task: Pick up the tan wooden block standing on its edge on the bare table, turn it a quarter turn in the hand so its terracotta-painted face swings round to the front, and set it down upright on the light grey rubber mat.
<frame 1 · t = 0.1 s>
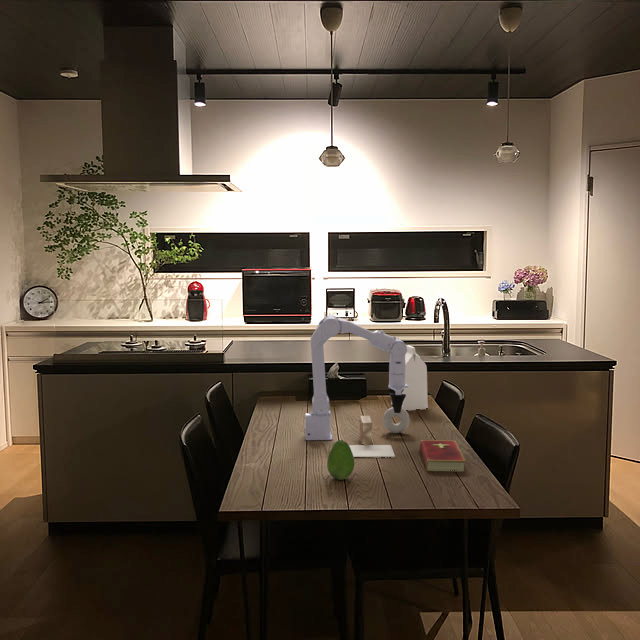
hand: (396, 410, 243), 10 cm above the table, tool pointing down, fingers open, 7 cm apart
fruit: (340, 479, 203), on the table
tan wooden block: (365, 441, 240), on the table
milk: (409, 406, 289), on the table
donut: (395, 433, 250), on the table
mat: (369, 452, 228), on the table
hardcover book: (441, 462, 220), on the table
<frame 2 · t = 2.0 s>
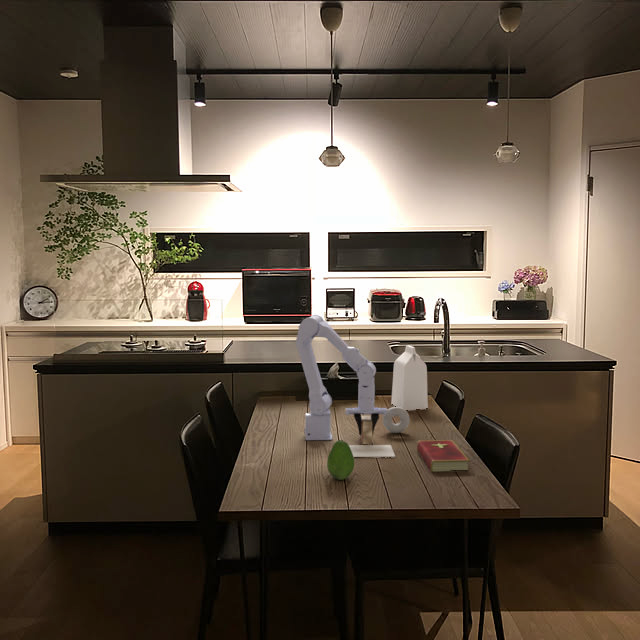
hand: (366, 434, 240), 2 cm above the table, tool pointing down, fingers closed on tan wooden block, 3 cm apart
tan wooden block: (366, 440, 240), on the table, touching gripper
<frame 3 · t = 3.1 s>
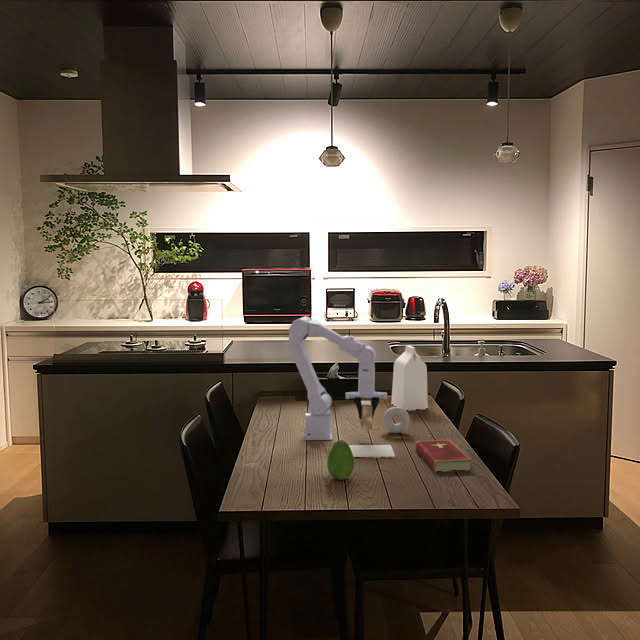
hand: (366, 418, 239), 8 cm above the table, tool pointing down, fingers closed on tan wooden block, 3 cm apart
tan wooden block: (366, 426, 239), point 5 cm above the table, touching gripper
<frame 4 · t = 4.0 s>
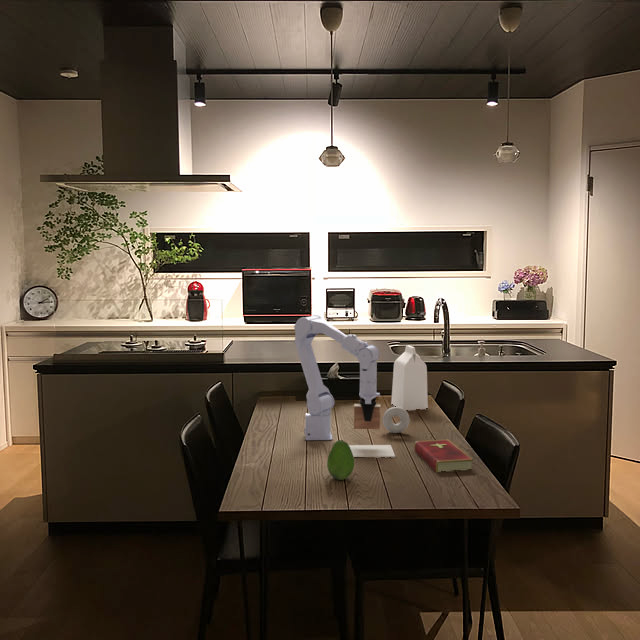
hand: (367, 419, 233), 9 cm above the table, tool pointing down, fingers closed on tan wooden block, 3 cm apart
tan wooden block: (366, 427, 234), point 6 cm above the table, touching gripper
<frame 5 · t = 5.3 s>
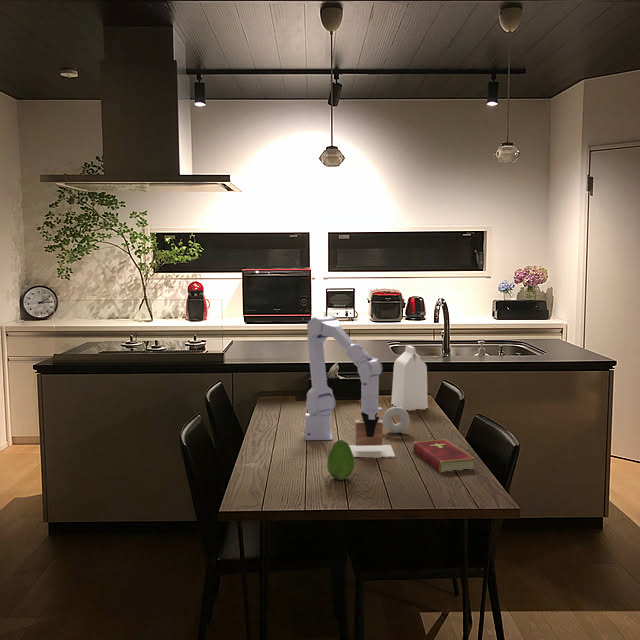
hand: (369, 434, 227), 6 cm above the table, tool pointing down, fingers closed on tan wooden block, 3 cm apart
tan wooden block: (368, 444, 227), point 3 cm above the table, touching gripper
when the fingers open (4 cm above the table, at t = 6.0 s): tan wooden block stays where it is, resting on mat.
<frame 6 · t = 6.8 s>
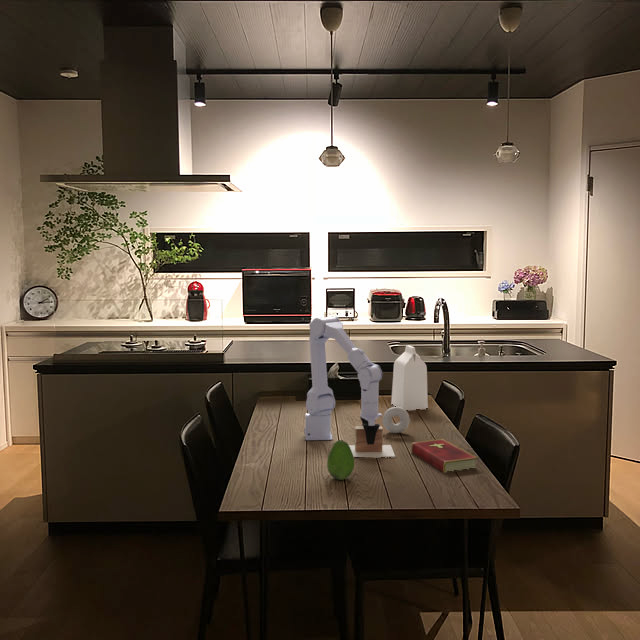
hand: (369, 440, 227), 4 cm above the table, tool pointing down, fingers open, 7 cm apart
tan wooden block: (368, 450, 228), resting on mat
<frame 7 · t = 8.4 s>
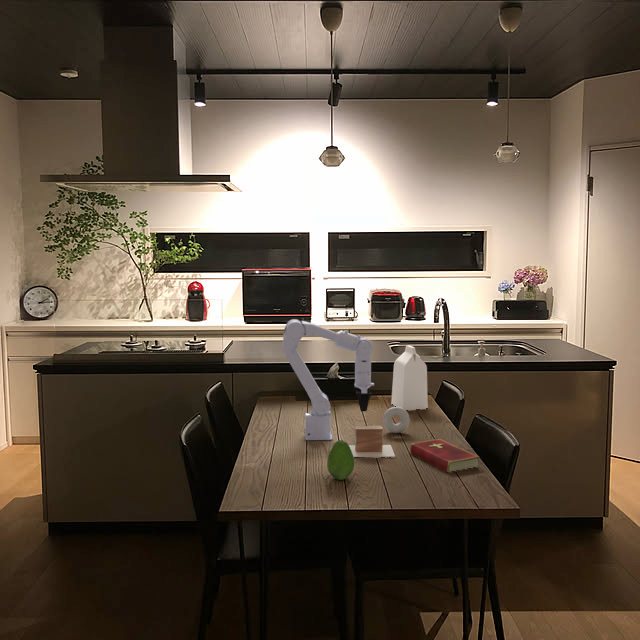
hand: (362, 408, 244), 10 cm above the table, tool pointing down, fingers open, 7 cm apart
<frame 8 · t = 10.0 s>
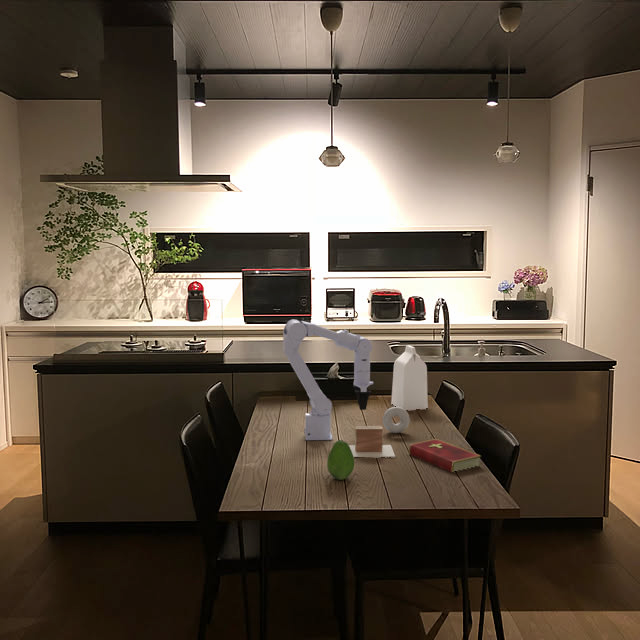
hand: (361, 406, 246), 10 cm above the table, tool pointing down, fingers open, 7 cm apart
at the end: tan wooden block inside the target area on the mat (0.3 cm from its centre), point 0.5 cm above the mat's base; tan wooden block tilted 0°; the gripper is holding nothing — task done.
